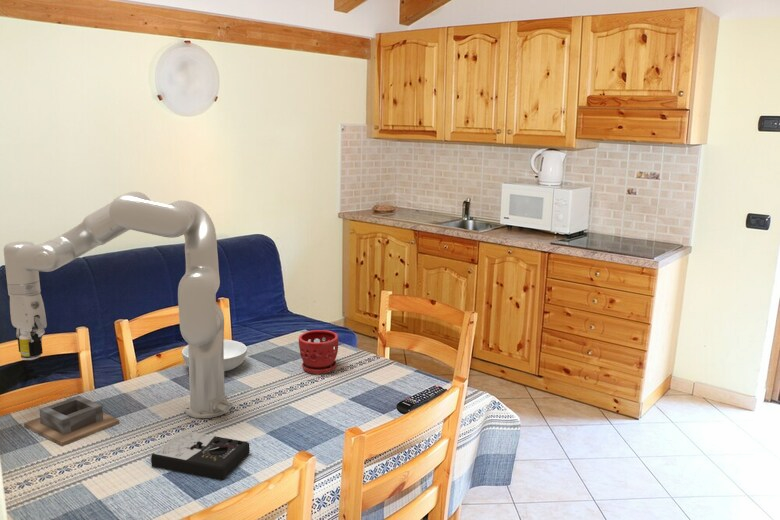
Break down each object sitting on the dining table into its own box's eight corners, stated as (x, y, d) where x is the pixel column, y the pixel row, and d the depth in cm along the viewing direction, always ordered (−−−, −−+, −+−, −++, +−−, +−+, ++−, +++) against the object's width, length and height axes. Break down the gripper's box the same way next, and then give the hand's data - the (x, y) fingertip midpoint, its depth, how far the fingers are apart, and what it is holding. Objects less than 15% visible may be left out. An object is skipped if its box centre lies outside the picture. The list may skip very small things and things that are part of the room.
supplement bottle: (32, 361, 171) (29, 331, 169) (17, 359, 172) (13, 329, 170) (45, 355, 176) (42, 325, 174) (30, 353, 176) (27, 324, 175)
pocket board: (119, 423, 172) (118, 405, 171) (61, 446, 159) (60, 427, 158) (81, 406, 182) (80, 389, 181) (24, 426, 169) (22, 408, 168)
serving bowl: (238, 381, 203) (238, 360, 202) (173, 379, 203) (172, 358, 202) (253, 358, 223) (253, 339, 222) (194, 356, 224) (193, 337, 222)
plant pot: (304, 361, 222) (304, 328, 219) (341, 364, 220) (342, 330, 218) (294, 375, 209) (293, 340, 207) (333, 378, 207) (333, 343, 205)
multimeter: (222, 482, 146) (222, 462, 145) (150, 468, 151) (149, 448, 150) (250, 455, 158) (250, 436, 157) (182, 443, 163) (182, 424, 162)
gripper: (55, 290, 168) (61, 355, 172) (22, 281, 177) (28, 343, 181) (26, 295, 162) (33, 363, 166) (-7, 286, 171) (0, 350, 175)
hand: (30, 352), depth 173 cm, fingers closed on supplement bottle, 4 cm apart
